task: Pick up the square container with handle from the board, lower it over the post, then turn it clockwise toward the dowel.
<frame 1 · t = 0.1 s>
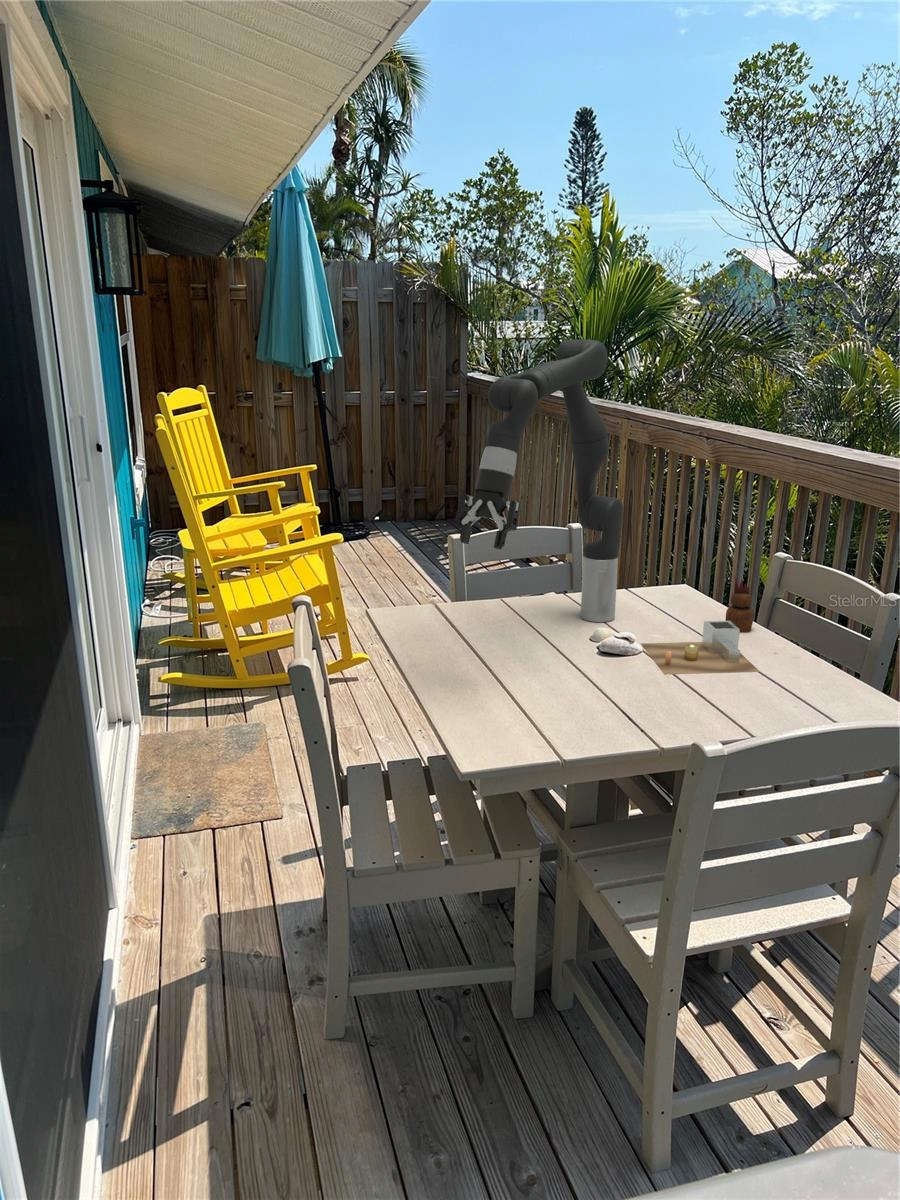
hand: (480, 546, 189), 31 cm above the table, tool tilted 20°, fingers open, 8 cm apart
dowel: (667, 670, 205), resting on board
square container with handle: (728, 658, 208), point 1 cm above the table, touching board
wooden figurine: (737, 635, 229), on the table
board: (697, 662, 209), on the table
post: (690, 664, 208), resting on board
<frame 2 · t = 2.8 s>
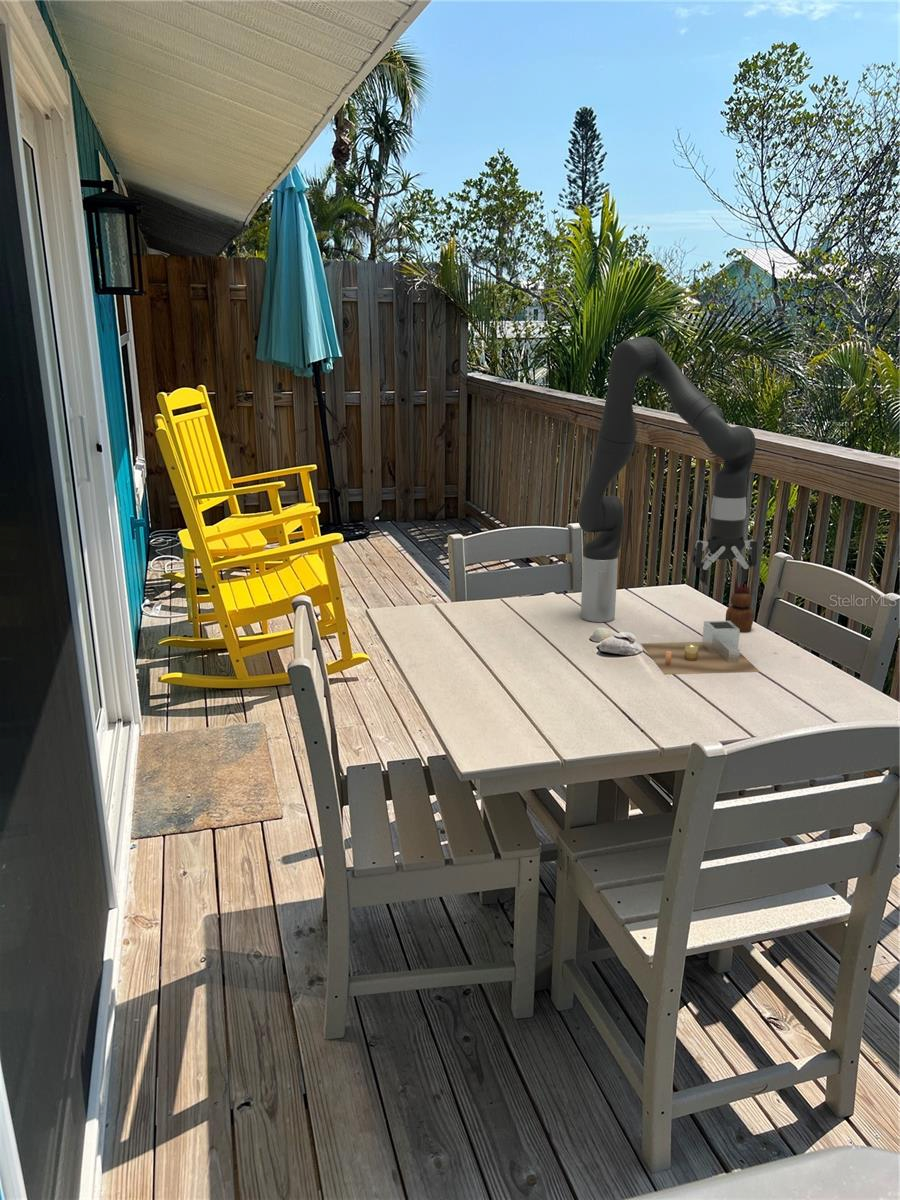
hand: (722, 583, 207), 18 cm above the table, tool pointing down, fingers open, 8 cm apart
nothing on the table moved.
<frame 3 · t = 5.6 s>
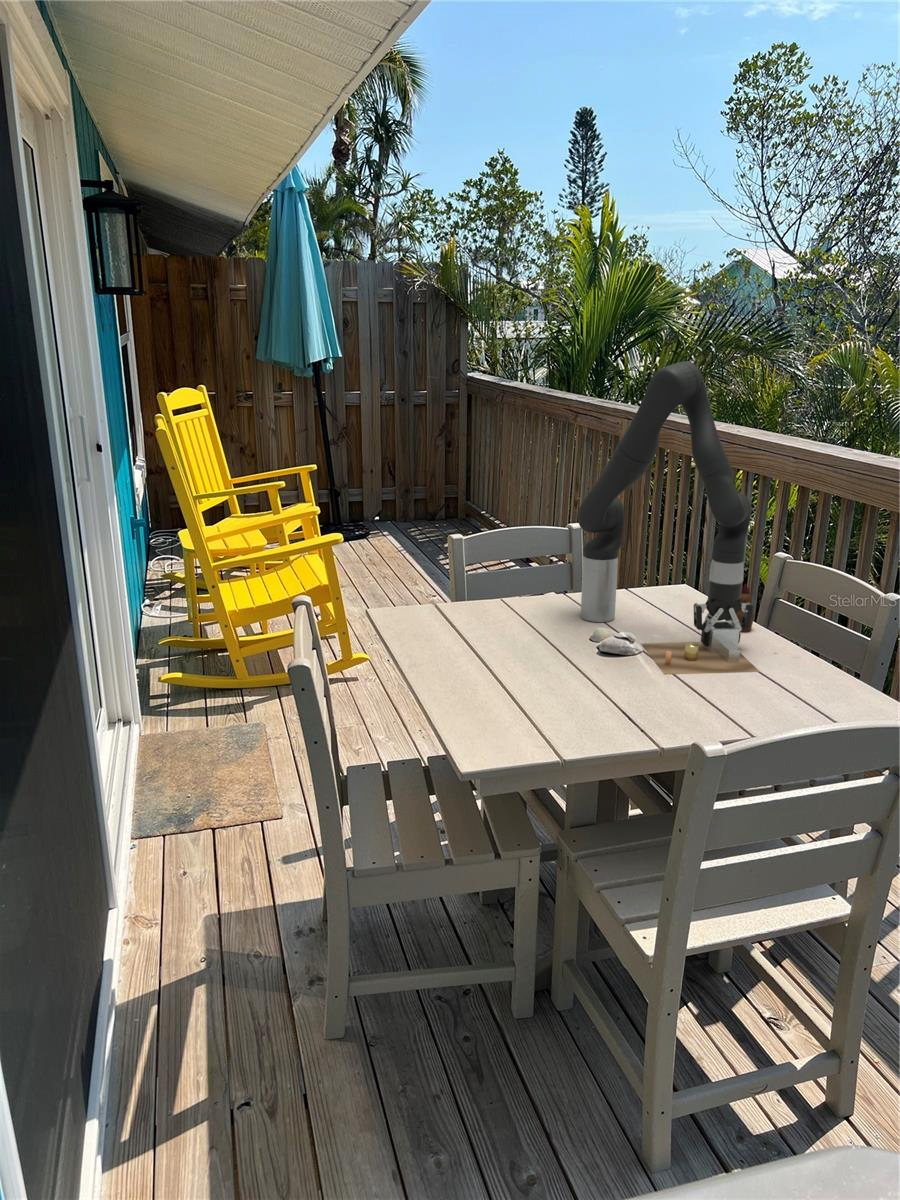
hand: (719, 644, 214), 2 cm above the table, tool pointing down, fingers closed on square container with handle, 6 cm apart
square container with handle: (728, 658, 208), point 1 cm above the table, touching board, gripper
everything else where it was.
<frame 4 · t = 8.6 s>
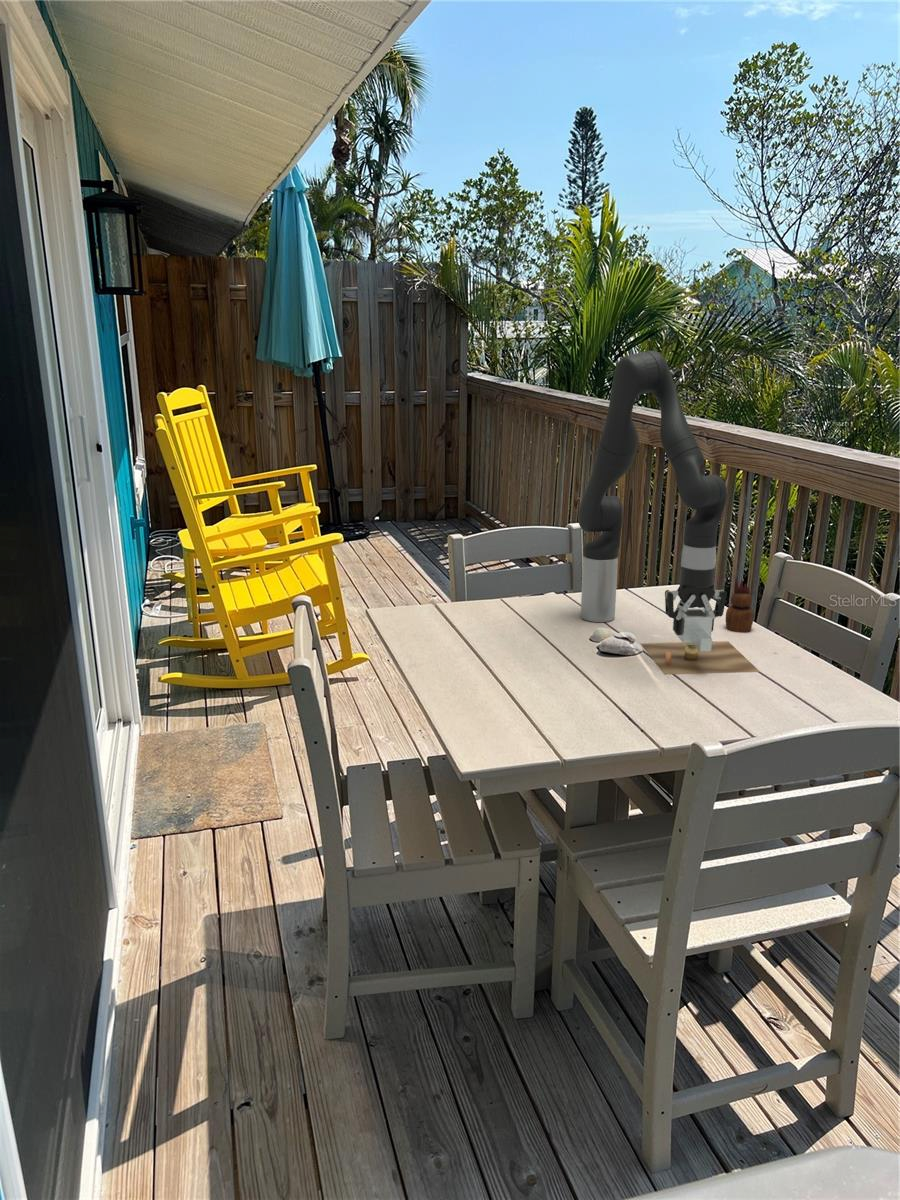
hand: (692, 633, 206), 8 cm above the table, tool pointing down, fingers closed on square container with handle, 6 cm apart
square container with handle: (701, 646, 200), point 7 cm above the table, touching gripper
everything else where it was.
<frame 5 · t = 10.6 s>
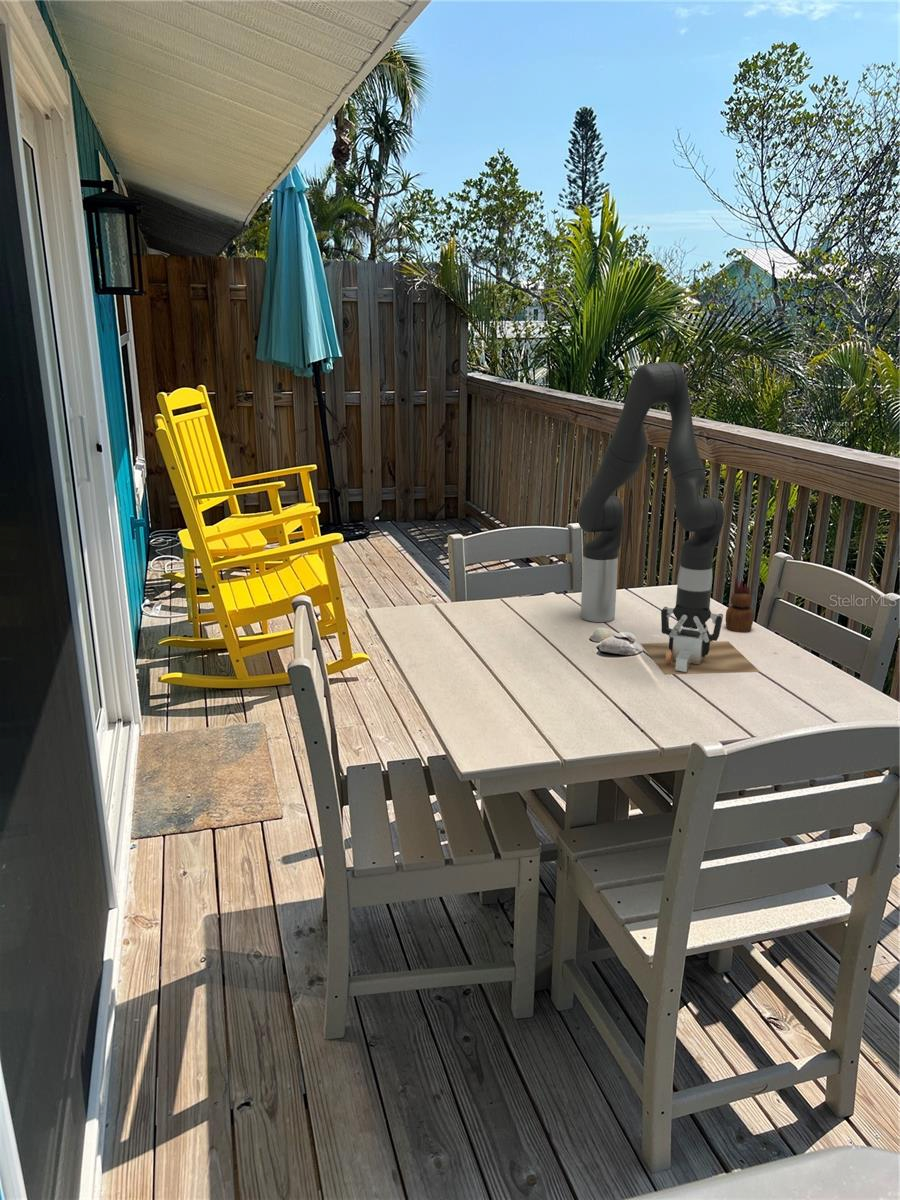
hand: (688, 653, 207), 3 cm above the table, tool pointing down, fingers closed on square container with handle, 6 cm apart
square container with handle: (683, 666, 202), point 2 cm above the table, touching gripper
everything else where it was.
when the fingers open (3 cm above the table, at t = 11.6 s): square container with handle stays where it is, resting on board.
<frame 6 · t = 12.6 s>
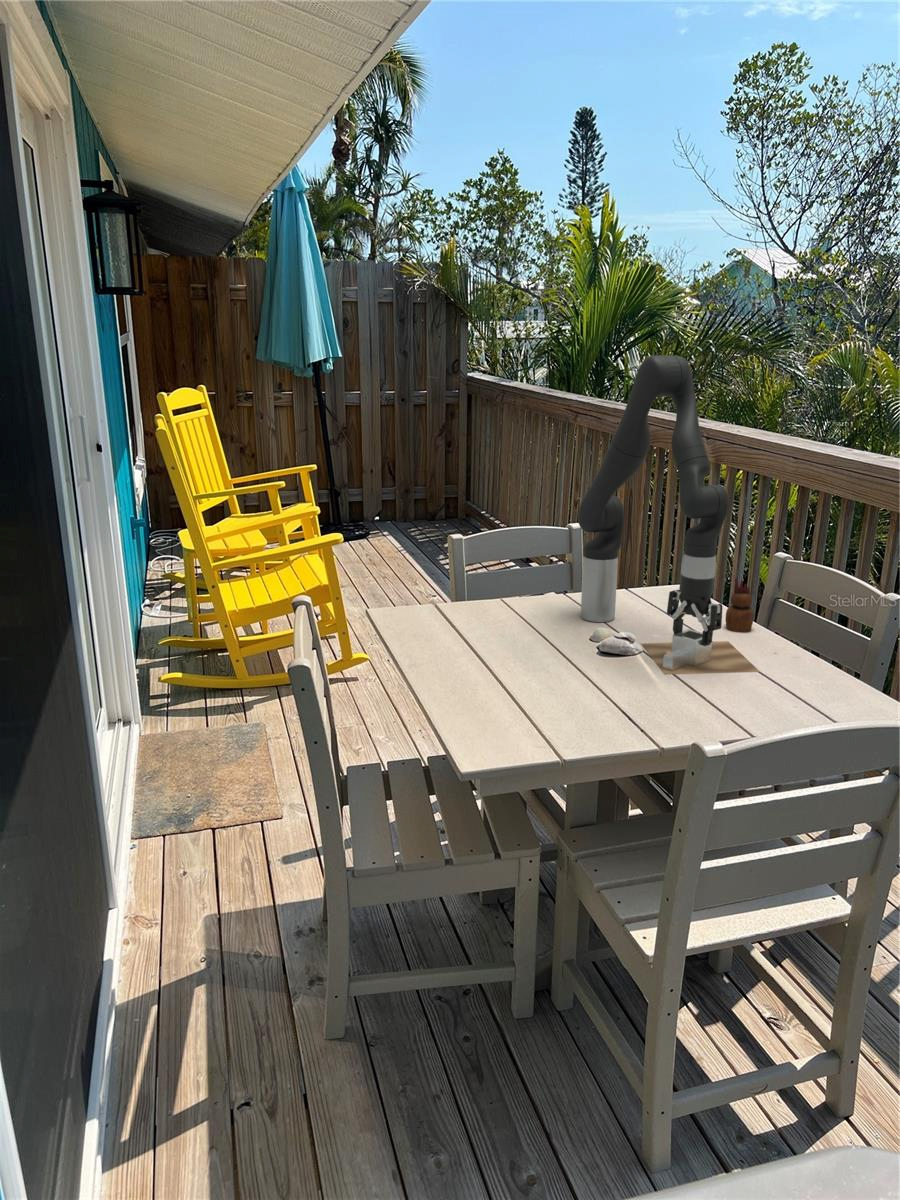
hand: (691, 639, 207), 6 cm above the table, tool pointing down, fingers open, 8 cm apart
square container with handle: (675, 666, 203), point 2 cm above the table, touching board, gripper
everything else where it was.
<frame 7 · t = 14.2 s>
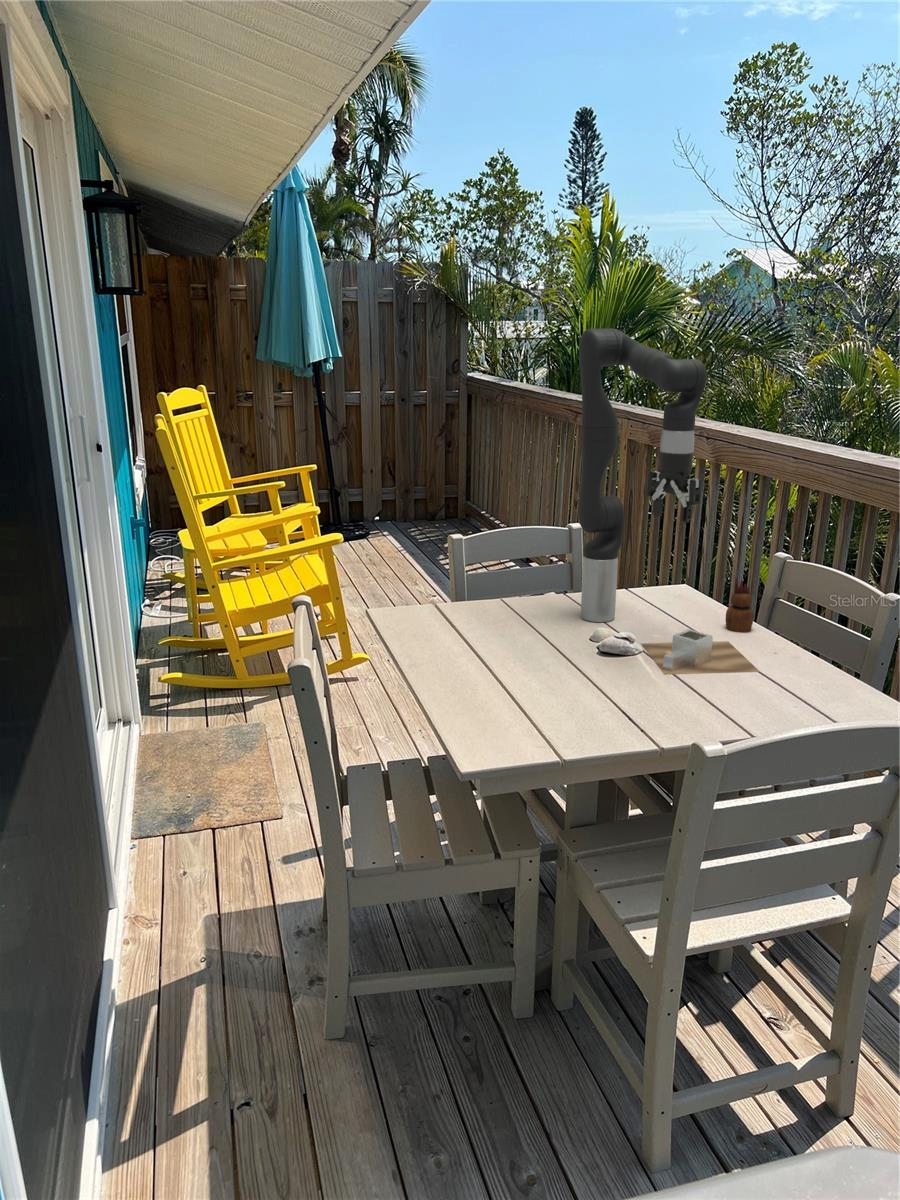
hand: (671, 519, 208), 33 cm above the table, tool pointing down, fingers open, 8 cm apart
square container with handle: (675, 666, 203), point 1 cm above the table, touching board
everything else where it was.
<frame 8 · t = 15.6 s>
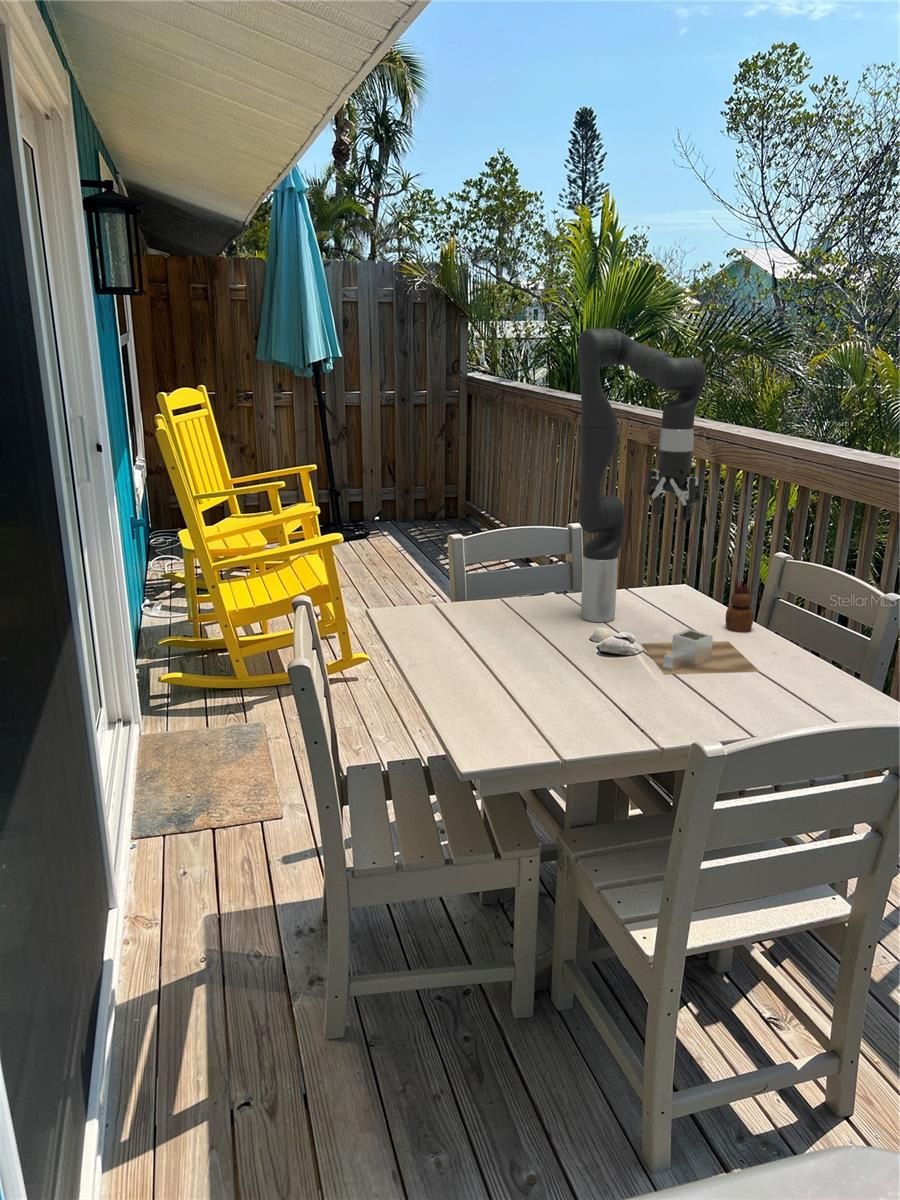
hand: (670, 517, 208), 33 cm above the table, tool pointing down, fingers open, 8 cm apart
nothing on the table moved.
at the end: square container with handle 2.0 cm from the dowel (horizontally); square container with handle 0.6 cm from the target spot on the table beside the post, point 1.5 cm above the table; the gripper is holding nothing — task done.
